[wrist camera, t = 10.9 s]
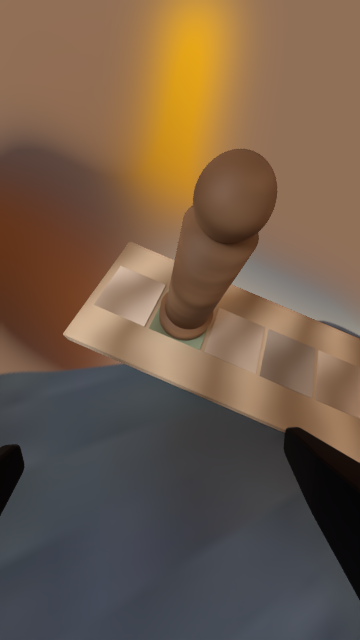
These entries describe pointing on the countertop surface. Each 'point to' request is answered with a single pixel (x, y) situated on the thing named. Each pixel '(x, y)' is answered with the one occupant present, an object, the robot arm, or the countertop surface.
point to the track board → (230, 351)
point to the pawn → (217, 238)
